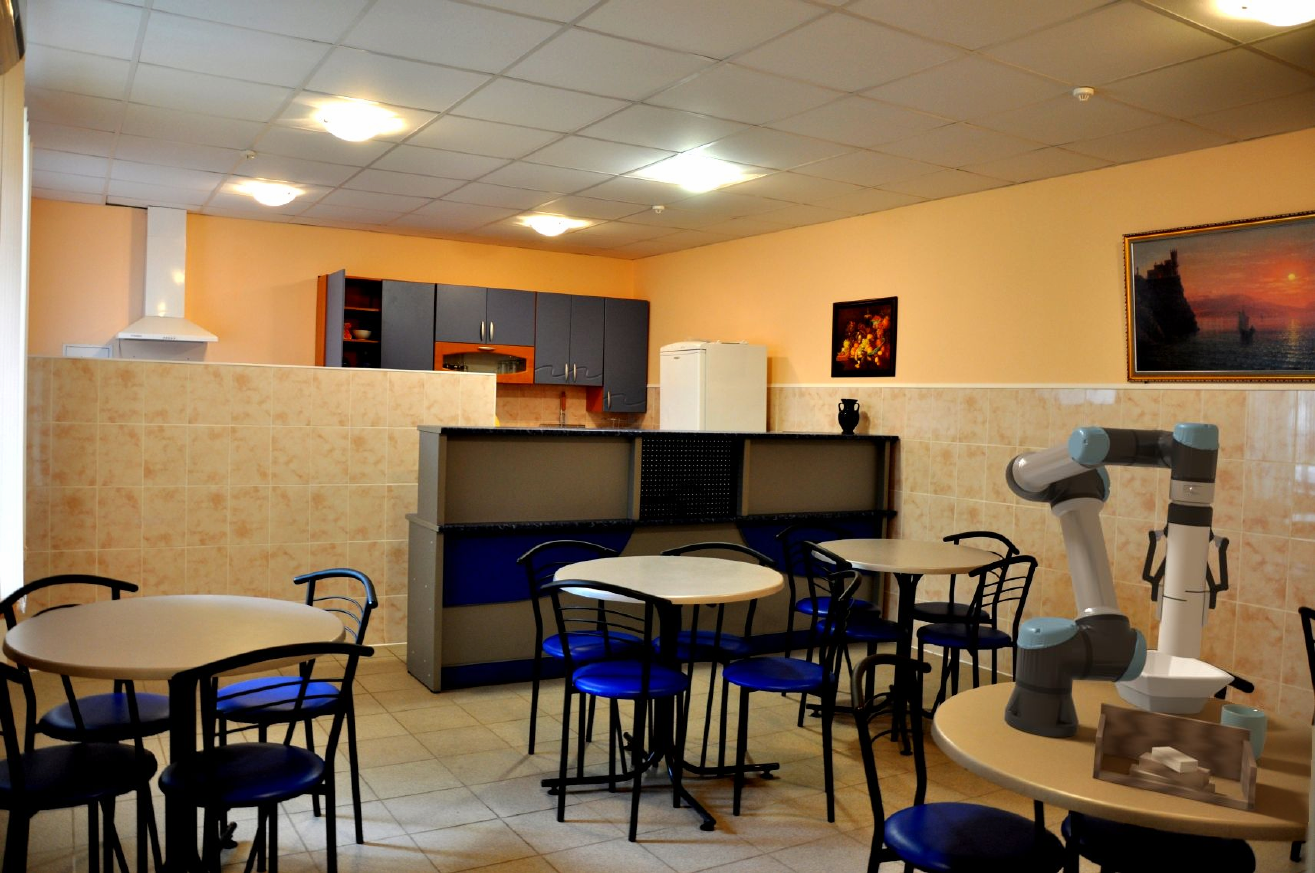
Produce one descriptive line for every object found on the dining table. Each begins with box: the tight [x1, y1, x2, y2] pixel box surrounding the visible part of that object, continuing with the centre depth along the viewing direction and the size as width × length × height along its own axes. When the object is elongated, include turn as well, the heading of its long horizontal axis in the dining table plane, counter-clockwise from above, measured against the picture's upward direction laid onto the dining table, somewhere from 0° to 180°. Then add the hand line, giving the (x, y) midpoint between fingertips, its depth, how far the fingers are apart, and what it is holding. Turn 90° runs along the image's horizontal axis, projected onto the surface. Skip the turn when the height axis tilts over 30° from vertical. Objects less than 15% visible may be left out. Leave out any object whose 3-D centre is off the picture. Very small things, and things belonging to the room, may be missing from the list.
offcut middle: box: [1138, 752, 1211, 789], centre depth 179 cm, size 11×4×2 cm, turn 46°
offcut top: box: [1152, 747, 1198, 773], centre depth 178 cm, size 7×4×2 cm, turn 14°
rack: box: [1092, 702, 1258, 813], centre depth 182 cm, size 26×17×10 cm, turn 62°
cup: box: [1220, 704, 1268, 762], centre depth 195 cm, size 8×8×10 cm
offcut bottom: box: [1128, 763, 1216, 794], centre depth 179 cm, size 14×4×2 cm, turn 58°
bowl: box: [1114, 649, 1235, 715], centre depth 230 cm, size 24×25×10 cm
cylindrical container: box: [1157, 523, 1210, 659], centre depth 182 cm, size 7×7×25 cm
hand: (1181, 621), depth 183 cm, fingers closed on cylindrical container, 7 cm apart
